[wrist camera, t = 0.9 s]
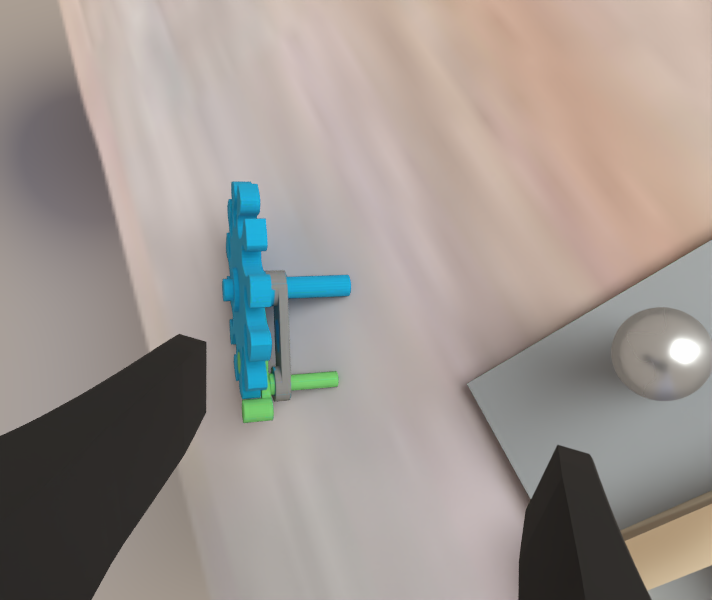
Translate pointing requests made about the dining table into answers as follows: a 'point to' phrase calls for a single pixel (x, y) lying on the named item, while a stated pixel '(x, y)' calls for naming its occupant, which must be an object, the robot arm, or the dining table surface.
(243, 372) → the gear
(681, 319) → the pin
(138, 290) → the dining table surface
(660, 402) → the board
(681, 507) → the block birch
